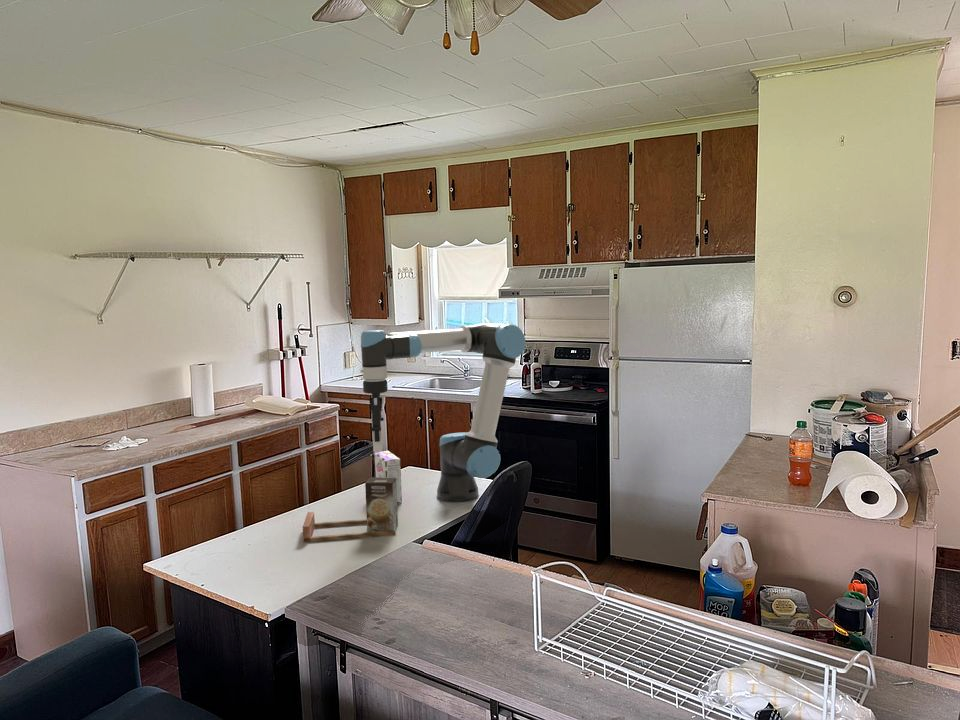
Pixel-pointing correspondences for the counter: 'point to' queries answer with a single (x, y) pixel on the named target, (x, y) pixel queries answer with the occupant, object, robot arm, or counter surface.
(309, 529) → the channel
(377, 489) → the coffee box
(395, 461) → the candy box
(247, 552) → the counter surface
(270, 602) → the counter surface
